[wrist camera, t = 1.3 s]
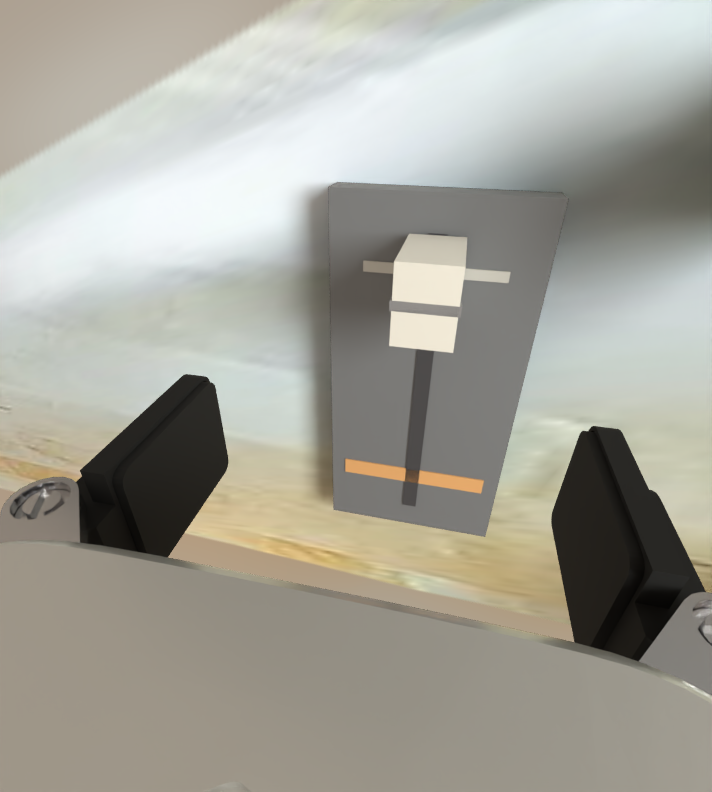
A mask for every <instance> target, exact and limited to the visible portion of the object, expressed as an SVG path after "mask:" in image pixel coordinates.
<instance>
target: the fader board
mask: <svg viewBox="0 0 712 792" xmlns="http://www.w3.org/2000/svg"><path fill="white" fill-rule="evenodd" d="M568 200H569V198H568V197H566V196H565V195H564V194H563V193H560V192H538V191H517V190H495V189H473V188H452V187H430V186H409V185H387V184H366V183H344V182H337V183H335V184H333V185H331V186H329V187H328V204H329V264H330V324H331V384H332V444H333V504H334V510H338V511H344V512H350V513H355V514H361V515H366V516H372V517H378V518H383V519H389V520H394V521H400V522H405V523H411V524H417V525H422V526H428V527H433V528H439V529H445V530H450V531H456V532H461V533H467V534H473V535H478V536H484V537H485V535H486V531H487V527H488V523H489V519H490V515H491V511H492V507H493V503H494V499H495V495H496V491H497V487H498V483H499V478H500V474H501V470H502V466H503V462H504V458H505V454H506V450H507V446H508V442H509V438H510V434H511V430H512V426H513V422H514V418H515V414H516V410H517V406H518V402H519V398H520V394H521V390H522V386H523V382H524V378H525V374H526V370H527V366H528V362H529V358H530V354H531V349H532V345H533V341H534V337H535V333H536V329H537V325H538V321H539V317H540V313H541V309H542V305H543V301H544V297H545V293H546V289H547V285H548V281H549V277H550V273H551V269H552V265H553V261H554V257H555V253H556V249H557V245H558V241H559V237H560V233H561V229H562V224H563V220H564V216H565V212H566V208H567V204H568ZM409 234H424V235H440V236H455V237H467V252H466V268H465V275H464V281H463V288H462V295H461V302H462V311H461V318H458V323H457V330H456V337H455V343H454V350H453V353H448V352H439V351H430V350H421V349H412V348H403V347H394V346H389V339H390V323H391V311H389V302H390V298H391V296H392V289H393V273H394V261H395V259H396V257H397V255H398V253H399V252H400V250H401V248H402V246H403V244H404V242H405V241H406V239H407V237H408V235H409Z"/></svg>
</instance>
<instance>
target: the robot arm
mask: <svg viewBox="0 0 712 792" xmlns="http://www.w3.org/2000/svg"><path fill="white" fill-rule="evenodd" d="M227 467H228V455H227V449H226V444H225V438H224V433H223V427H222V422H221V416H220V410H219V405H218V399H217V394H216V388H215V385H214V384H213V383H210V381H209V379H208V378H207V377H204V376H196V375H188V374H186V375H183V376H182V377H181V378H180V379H179V380H178V381H177V382H175V383H174V384H173V385H172V386H171V387H170V388H169V389H168V390H167V391H166V392H165V393H163V394H162V395H161V396H160V397H159V398H158V399H157V400H156V401H155V402H154V403H153V404H152V405H150V406H149V407H148V408H147V409H146V410H145V411H144V412H143V413H142V414H141V415H140V416H139V417H137V418H136V419H135V420H134V421H133V422H132V423H131V424H130V425H129V426H128V427H127V428H126V429H124V430H123V431H122V432H121V433H120V434H119V435H118V436H117V437H116V438H115V439H114V440H113V441H111V442H110V443H109V444H108V445H107V446H106V447H105V448H104V449H103V450H102V451H101V452H100V453H98V454H97V455H96V456H95V457H94V458H93V459H92V460H91V461H90V462H89V463H88V464H87V465H85V466H84V467H83V468H82V469H81V470H80V472H81V474H82V477H81V478H80V479H79V480H78V481H77V482H75V481H73V480H72V479H69V478H66V477H51V478H46V479H41V480H39V481H36V482H33V483H30V484H28V485H27V486H25V487H23V488H21V489H19V490H18V491H17V492H15V493H14V494H13V495H11V496H10V497H9V499H8V500H7V501H6V502H5V503H4V505H3V507H2V510H1V514H0V792H712V593H708V592H706V591H705V589H704V587H703V585H702V583H701V581H700V579H699V577H698V575H697V573H696V571H695V569H694V567H693V565H692V563H691V561H690V559H689V557H688V554H687V552H686V550H685V548H684V546H683V544H682V542H681V540H680V538H679V536H678V534H677V532H676V530H675V528H674V526H673V524H672V522H671V520H670V518H669V516H668V514H667V512H666V510H665V507H664V505H663V503H662V501H661V499H660V498H659V496H658V495H657V493H656V492H654V491H652V490H649V489H648V487H647V485H646V482H645V480H644V478H643V476H642V474H641V472H640V470H639V468H638V465H637V463H636V461H635V459H634V457H633V455H632V453H631V451H630V448H629V446H628V444H627V442H626V440H625V438H624V436H623V434H622V432H621V431H620V430H619V429H613V428H605V427H597V426H593V427H591V428H590V429H589V432H588V431H582V432H581V433H580V435H579V438H578V441H577V444H576V446H575V449H574V452H573V455H572V458H571V461H570V463H569V466H568V469H567V472H566V475H565V478H564V480H563V483H562V486H561V489H560V492H559V495H558V497H557V500H556V503H555V506H554V509H553V512H552V529H553V535H554V540H555V545H556V550H557V555H558V560H559V565H560V570H561V575H562V580H563V585H564V591H565V596H566V601H567V606H568V611H569V616H570V621H571V626H572V631H573V636H574V641H575V643H574V642H570V641H566V640H562V639H557V638H552V637H548V636H544V635H539V634H535V633H531V632H526V631H522V630H517V629H513V628H508V627H504V626H500V625H495V624H490V623H485V622H481V621H476V620H471V619H467V618H462V617H457V616H452V615H448V614H443V613H438V612H433V611H428V610H424V609H419V608H414V607H409V606H404V605H400V604H395V603H390V602H385V601H381V600H376V599H370V598H366V597H361V596H356V595H351V594H347V593H341V592H337V591H332V590H327V589H322V588H317V587H312V586H307V585H303V584H298V583H293V582H288V581H283V580H278V579H273V578H267V577H263V576H258V575H253V574H248V573H243V572H238V571H233V570H228V569H223V568H218V567H213V566H207V565H203V564H198V563H193V562H187V561H182V560H178V559H173V558H168V556H169V555H170V553H171V552H172V550H173V549H174V547H175V546H176V544H177V543H178V541H179V540H180V538H181V537H182V535H183V534H184V532H185V531H186V529H187V528H188V526H189V525H190V524H191V522H192V521H193V519H194V518H195V516H196V515H197V513H198V512H199V510H200V509H201V507H202V506H203V504H204V503H205V501H206V500H207V498H208V497H209V495H210V494H211V493H212V491H213V490H214V488H215V487H216V485H217V484H218V482H219V481H220V479H221V478H222V476H223V475H224V473H225V472H226V470H227Z"/></svg>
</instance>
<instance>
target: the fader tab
mask: <svg viewBox="0 0 712 792" xmlns="http://www.w3.org/2000/svg"><path fill="white" fill-rule="evenodd" d="M466 252H467V237H455V236H440V235H424V234H409V235H408V237H407V239H406V241H405V242H404V244H403V246H402V248H401V250H400V252H399V253H398V255H397V257H396V259H395V261H394V273H393V289H392V296H391V298H390V302H389V311H391V323H390V339H389V346H394V347H403V348H412V349H421V350H430V351H439V352H448V353H453V350H454V343H455V337H456V330H457V323H458V318H461V311H462V302H461V295H462V288H463V281H464V275H465V268H466Z"/></svg>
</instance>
